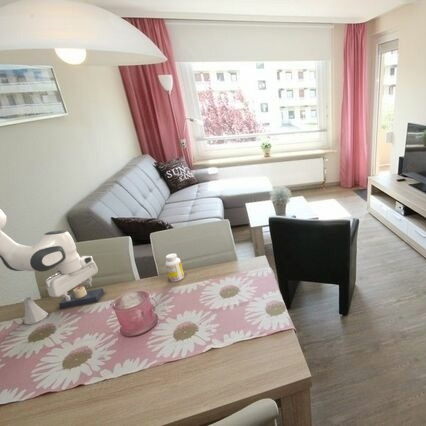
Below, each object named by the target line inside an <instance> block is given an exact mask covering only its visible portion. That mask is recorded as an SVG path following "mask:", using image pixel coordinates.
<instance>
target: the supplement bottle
mask: <svg viewBox="0 0 426 426" xmlns="http://www.w3.org/2000/svg"><path fill="white" fill-rule="evenodd" d="M165 260H166V261H165V265H164V266H165V268H166V271H167V275H168V278H169V281H170V282H178V281H181V280H182V279H184V278H185V272H184V269H183V265H182V261H181V259H180V258H179V257H178V255H177V253H169V254H167V255H166V256H165Z"/></svg>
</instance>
